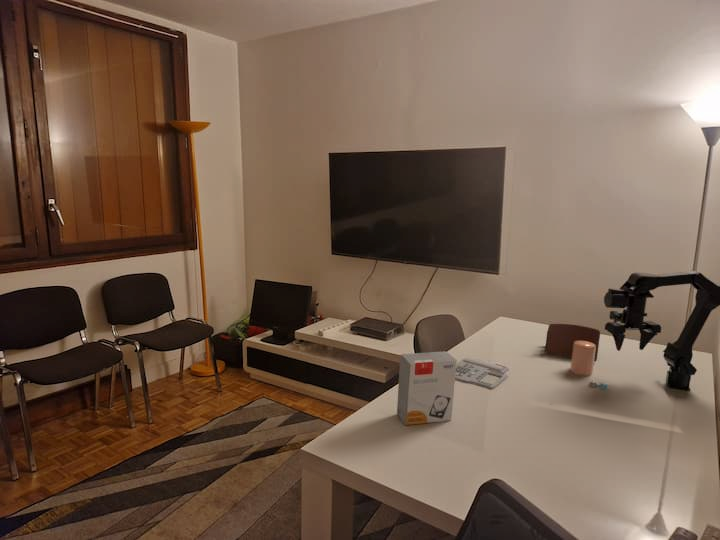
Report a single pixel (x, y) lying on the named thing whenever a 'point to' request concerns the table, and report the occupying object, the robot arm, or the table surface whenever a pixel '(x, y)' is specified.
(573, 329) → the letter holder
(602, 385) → the teal marble
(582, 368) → the faceted domed cylinder
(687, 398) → the table surface
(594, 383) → the graphite marble
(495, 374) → the office telephone
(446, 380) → the hard drive box
